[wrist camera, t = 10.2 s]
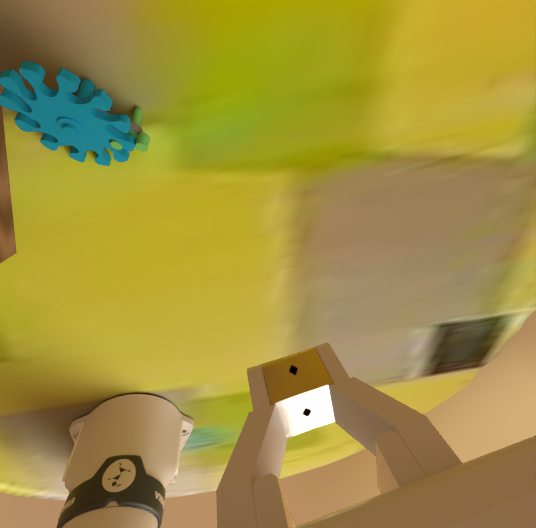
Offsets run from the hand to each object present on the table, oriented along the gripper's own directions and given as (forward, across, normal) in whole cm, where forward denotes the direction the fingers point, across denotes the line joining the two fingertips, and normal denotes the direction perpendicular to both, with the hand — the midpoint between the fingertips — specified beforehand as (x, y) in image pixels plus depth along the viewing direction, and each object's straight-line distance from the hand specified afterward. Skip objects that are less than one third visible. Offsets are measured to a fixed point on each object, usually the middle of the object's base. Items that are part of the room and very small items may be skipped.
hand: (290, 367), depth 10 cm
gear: (+27, +11, -11) cm, 31 cm away
